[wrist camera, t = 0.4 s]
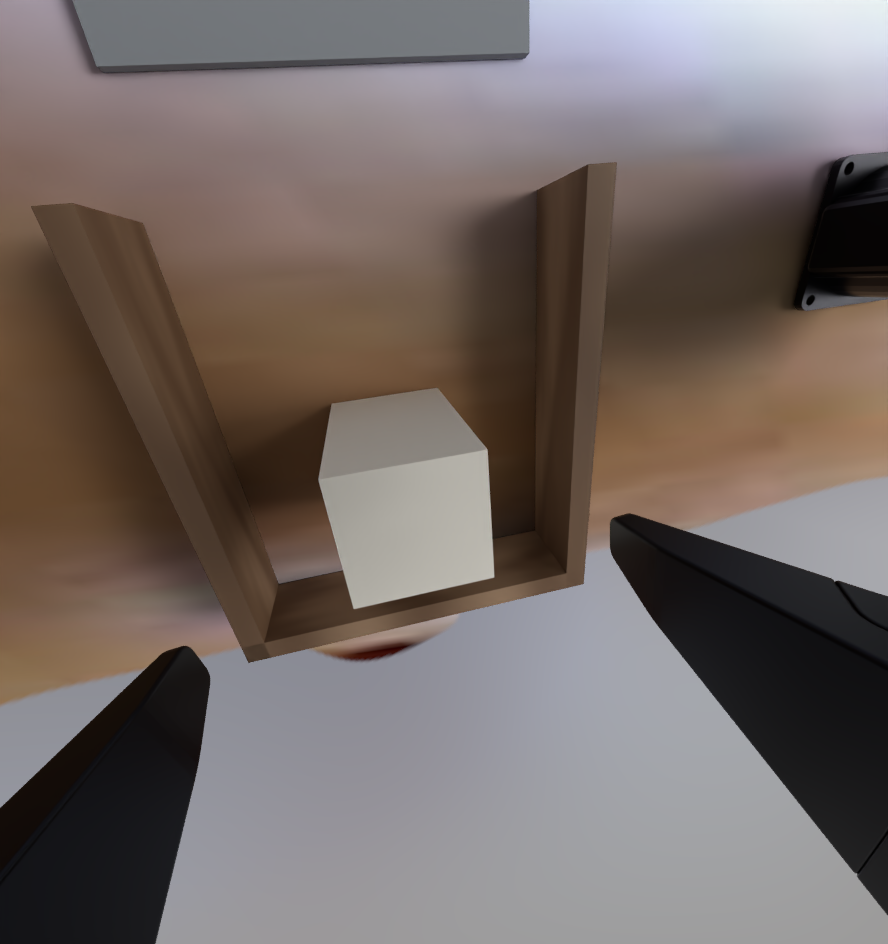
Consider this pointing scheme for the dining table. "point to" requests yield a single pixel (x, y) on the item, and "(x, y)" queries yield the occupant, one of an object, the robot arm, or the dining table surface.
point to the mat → (298, 32)
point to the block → (406, 496)
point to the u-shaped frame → (214, 476)
